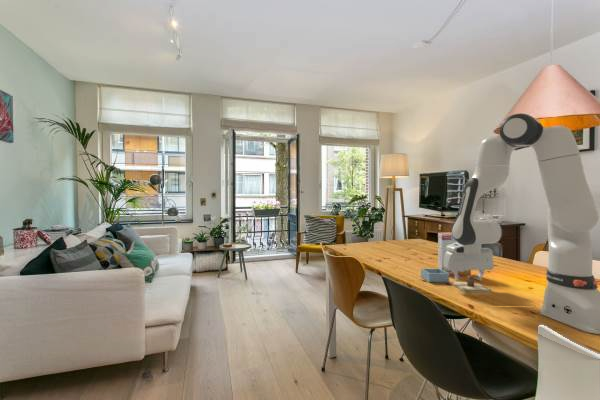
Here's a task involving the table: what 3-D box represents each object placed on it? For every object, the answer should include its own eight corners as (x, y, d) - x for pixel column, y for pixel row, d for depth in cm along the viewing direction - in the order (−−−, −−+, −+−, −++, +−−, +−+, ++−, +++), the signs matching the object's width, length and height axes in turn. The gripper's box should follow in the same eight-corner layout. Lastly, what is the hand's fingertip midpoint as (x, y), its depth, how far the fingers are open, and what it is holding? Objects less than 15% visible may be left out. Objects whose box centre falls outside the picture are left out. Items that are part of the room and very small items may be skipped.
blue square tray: (448, 283, 138) (449, 273, 138) (429, 283, 138) (429, 273, 138) (439, 277, 147) (439, 268, 147) (420, 278, 147) (420, 268, 147)
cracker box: (465, 273, 156) (466, 232, 156) (471, 276, 150) (471, 233, 150) (437, 272, 157) (437, 231, 157) (441, 275, 151) (442, 233, 151)
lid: (491, 291, 125) (491, 280, 125) (465, 291, 125) (465, 280, 125) (475, 283, 136) (475, 273, 136) (451, 283, 136) (451, 273, 136)
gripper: (487, 246, 134) (486, 277, 134) (442, 245, 133) (441, 277, 133) (497, 249, 128) (496, 282, 128) (450, 248, 126) (449, 281, 127)
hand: (468, 279), depth 131 cm, fingers open, 8 cm apart
